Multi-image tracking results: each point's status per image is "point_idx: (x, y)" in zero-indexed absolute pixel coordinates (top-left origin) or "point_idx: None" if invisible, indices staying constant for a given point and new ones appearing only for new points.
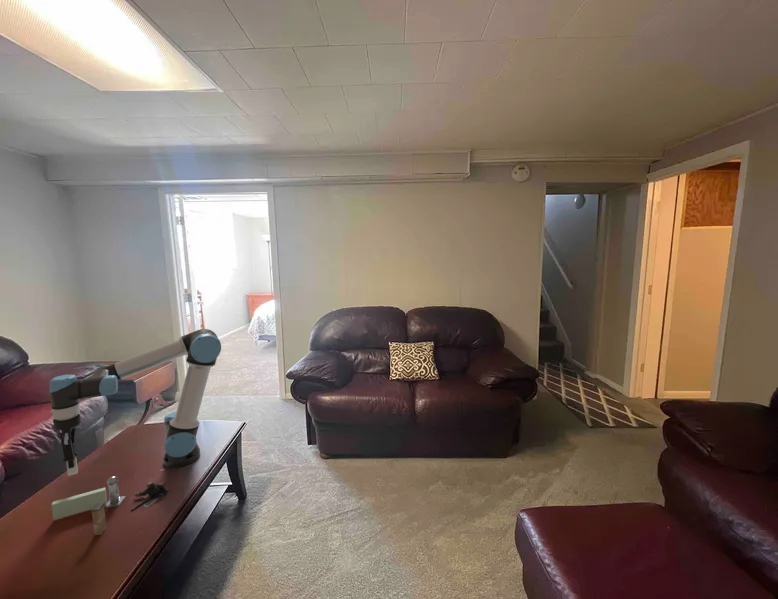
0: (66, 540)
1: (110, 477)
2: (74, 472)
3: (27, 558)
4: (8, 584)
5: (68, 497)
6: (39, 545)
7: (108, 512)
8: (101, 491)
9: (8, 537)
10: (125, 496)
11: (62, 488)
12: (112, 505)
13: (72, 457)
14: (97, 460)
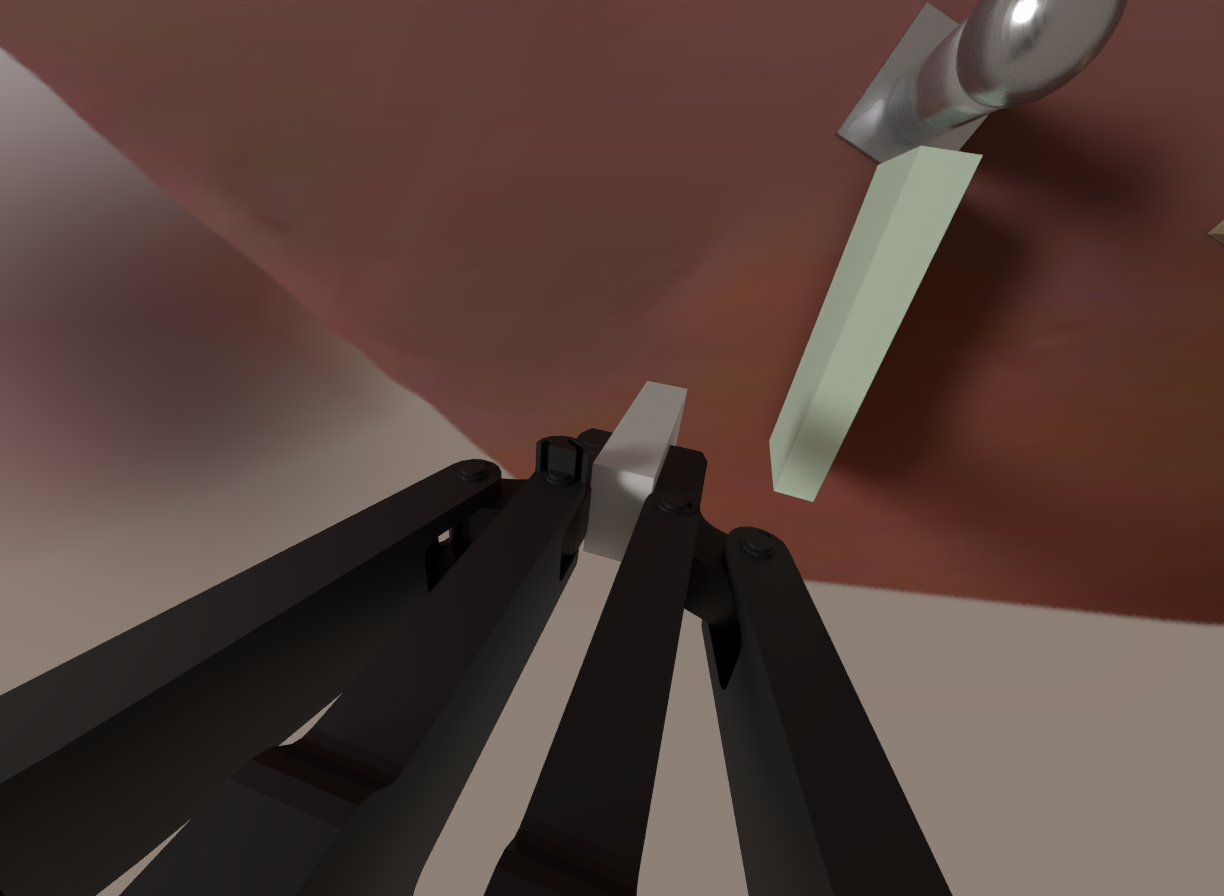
0: (1082, 413)
1: (1047, 36)
2: (680, 415)
3: (1032, 550)
4: (1179, 617)
5: (805, 418)
6: (965, 507)
7: (1024, 163)
8: (965, 188)
9: None
10: (925, 5)
11: (480, 384)
12: (975, 126)
13: (801, 591)
14: (263, 208)
